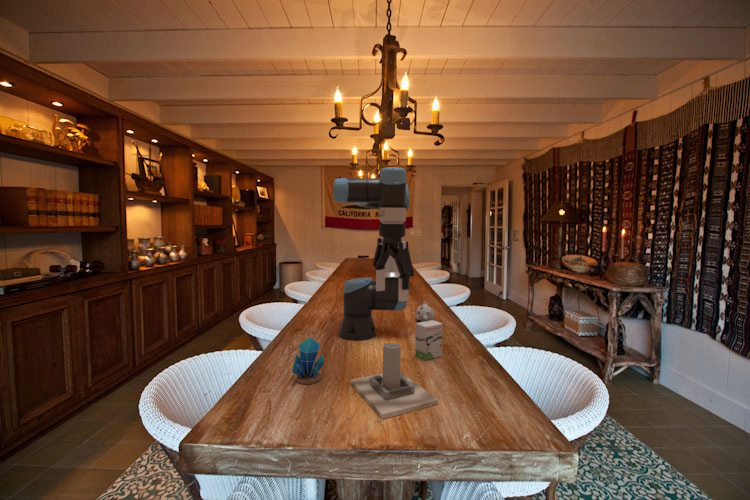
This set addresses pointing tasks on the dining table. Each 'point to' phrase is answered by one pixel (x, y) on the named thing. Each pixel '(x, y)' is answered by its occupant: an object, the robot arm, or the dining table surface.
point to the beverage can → (391, 366)
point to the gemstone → (308, 363)
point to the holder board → (392, 395)
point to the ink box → (428, 340)
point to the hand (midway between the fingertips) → (391, 295)
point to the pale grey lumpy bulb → (424, 312)
